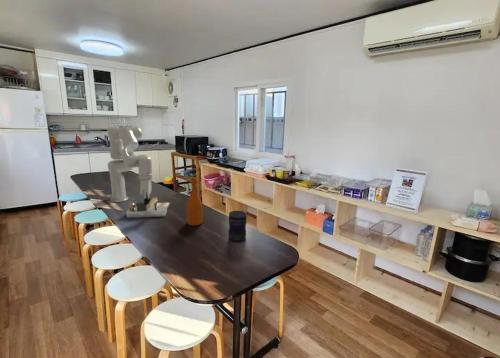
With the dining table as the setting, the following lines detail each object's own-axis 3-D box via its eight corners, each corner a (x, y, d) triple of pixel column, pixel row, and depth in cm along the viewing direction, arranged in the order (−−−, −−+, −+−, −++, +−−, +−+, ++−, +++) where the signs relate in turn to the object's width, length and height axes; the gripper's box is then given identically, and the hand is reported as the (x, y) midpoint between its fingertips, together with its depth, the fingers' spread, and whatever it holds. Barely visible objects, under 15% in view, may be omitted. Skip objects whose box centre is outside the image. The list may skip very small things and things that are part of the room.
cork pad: (151, 209, 180) (151, 207, 180) (154, 203, 190) (154, 202, 190) (167, 208, 182) (167, 207, 182) (169, 203, 192) (169, 202, 192)
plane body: (126, 217, 163) (125, 204, 161) (130, 212, 172) (129, 199, 170) (165, 216, 168) (164, 203, 165) (166, 211, 176) (166, 199, 174)
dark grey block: (136, 210, 165) (136, 203, 164) (138, 207, 170) (138, 200, 169) (146, 210, 166) (146, 203, 165) (148, 207, 171) (147, 200, 170)
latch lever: (151, 208, 155) (150, 204, 154) (147, 208, 155) (146, 204, 154) (157, 200, 170) (157, 196, 169) (154, 200, 170) (153, 196, 169)
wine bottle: (205, 222, 161) (205, 176, 154) (196, 227, 152) (195, 180, 145) (193, 219, 165) (192, 174, 158) (183, 224, 156) (182, 177, 149)
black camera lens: (239, 244, 133) (240, 218, 130) (224, 239, 138) (225, 214, 135) (249, 237, 141) (250, 213, 138) (235, 233, 146) (235, 209, 143)
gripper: (142, 174, 161) (143, 200, 166) (136, 179, 147) (138, 209, 152) (154, 174, 163) (155, 200, 167) (149, 179, 149) (151, 208, 153)
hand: (147, 204), depth 160 cm, fingers closed
